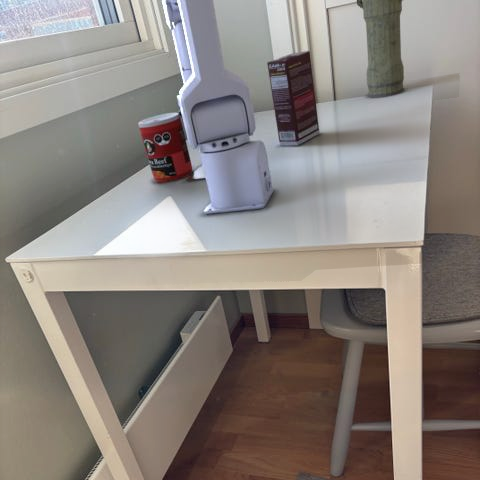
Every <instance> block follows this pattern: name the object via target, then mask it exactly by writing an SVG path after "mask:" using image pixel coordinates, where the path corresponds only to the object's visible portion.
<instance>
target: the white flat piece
mask: <svg viewBox="0 0 480 480" xmlns="http://www.w3.org/2000/svg"><path fill="white" fill-rule="evenodd" d="M202 180H206V177H205V173H204V168H203V164H202V163H201V165H200V166H198V168H197V169H196V170H195V171H193V173H191V174H190V175H189V176H188V177H187V179H186V180H185V181H186V182H194V181H195V182H196V181H202Z"/></svg>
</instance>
